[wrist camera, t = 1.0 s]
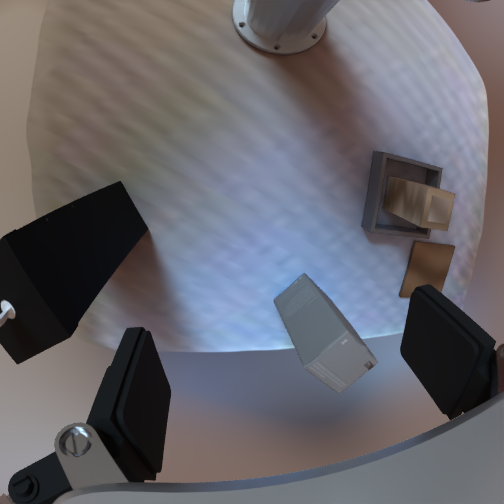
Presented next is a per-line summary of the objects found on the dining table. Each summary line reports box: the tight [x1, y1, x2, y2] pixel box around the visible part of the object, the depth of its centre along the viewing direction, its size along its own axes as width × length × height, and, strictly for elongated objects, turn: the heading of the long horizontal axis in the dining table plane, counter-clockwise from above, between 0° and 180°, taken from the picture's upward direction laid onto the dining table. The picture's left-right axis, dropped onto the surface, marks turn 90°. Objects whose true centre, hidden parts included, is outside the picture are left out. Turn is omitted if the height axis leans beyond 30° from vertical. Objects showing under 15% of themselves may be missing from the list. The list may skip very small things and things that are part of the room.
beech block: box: [383, 176, 455, 231], centre depth 36 cm, size 5×5×10 cm
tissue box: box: [0, 181, 148, 364], centre depth 25 cm, size 8×8×28 cm
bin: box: [361, 151, 443, 239], centre depth 39 cm, size 11×11×3 cm
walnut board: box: [399, 241, 455, 297], centre depth 46 cm, size 10×10×1 cm
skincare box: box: [274, 273, 378, 393], centre depth 38 cm, size 8×7×16 cm
